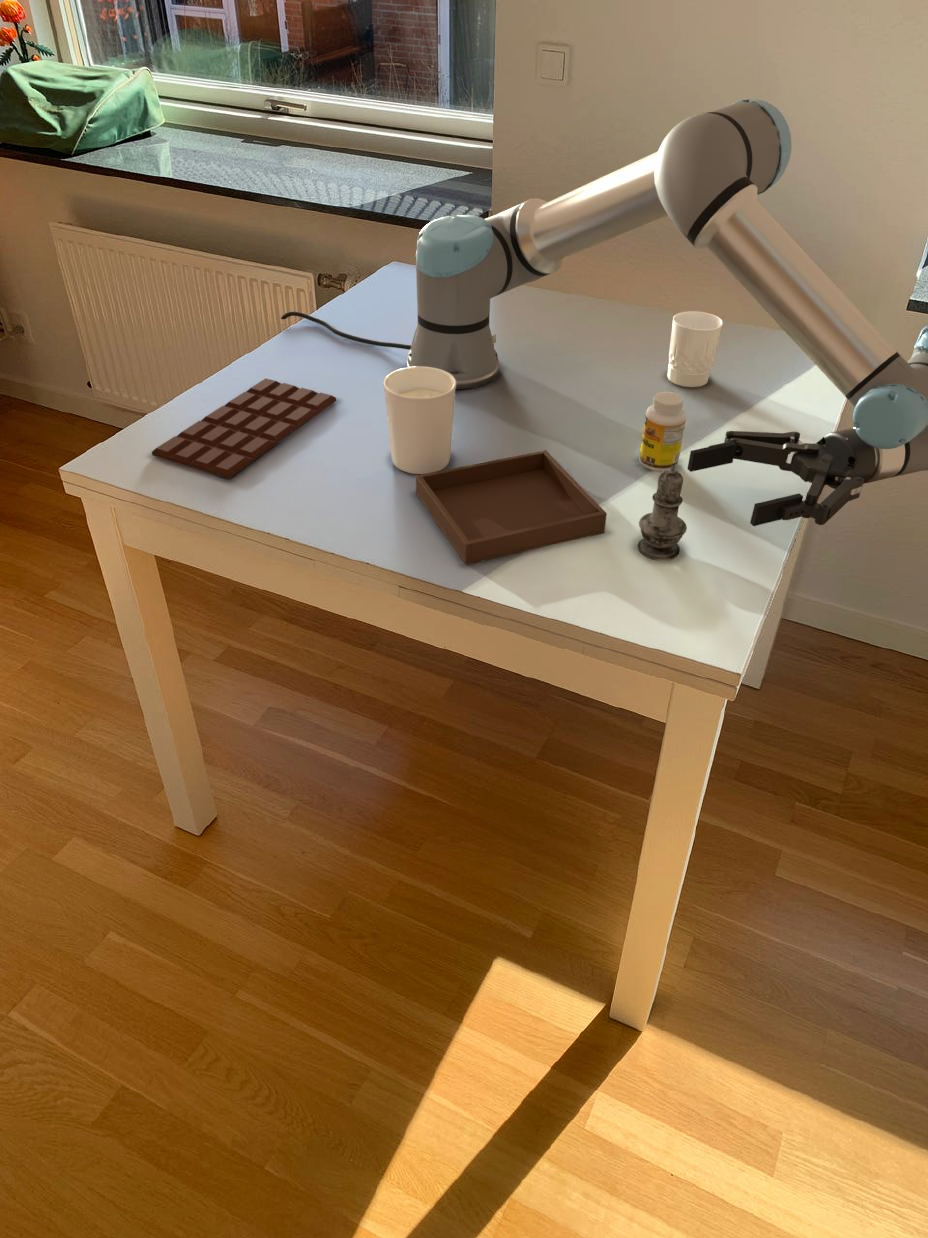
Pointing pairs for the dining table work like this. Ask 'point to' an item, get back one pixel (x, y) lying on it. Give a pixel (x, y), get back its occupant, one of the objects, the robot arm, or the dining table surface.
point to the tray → (509, 506)
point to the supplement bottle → (663, 432)
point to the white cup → (693, 347)
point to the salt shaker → (663, 519)
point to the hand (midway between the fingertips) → (720, 487)
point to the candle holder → (420, 418)
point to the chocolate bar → (244, 428)
